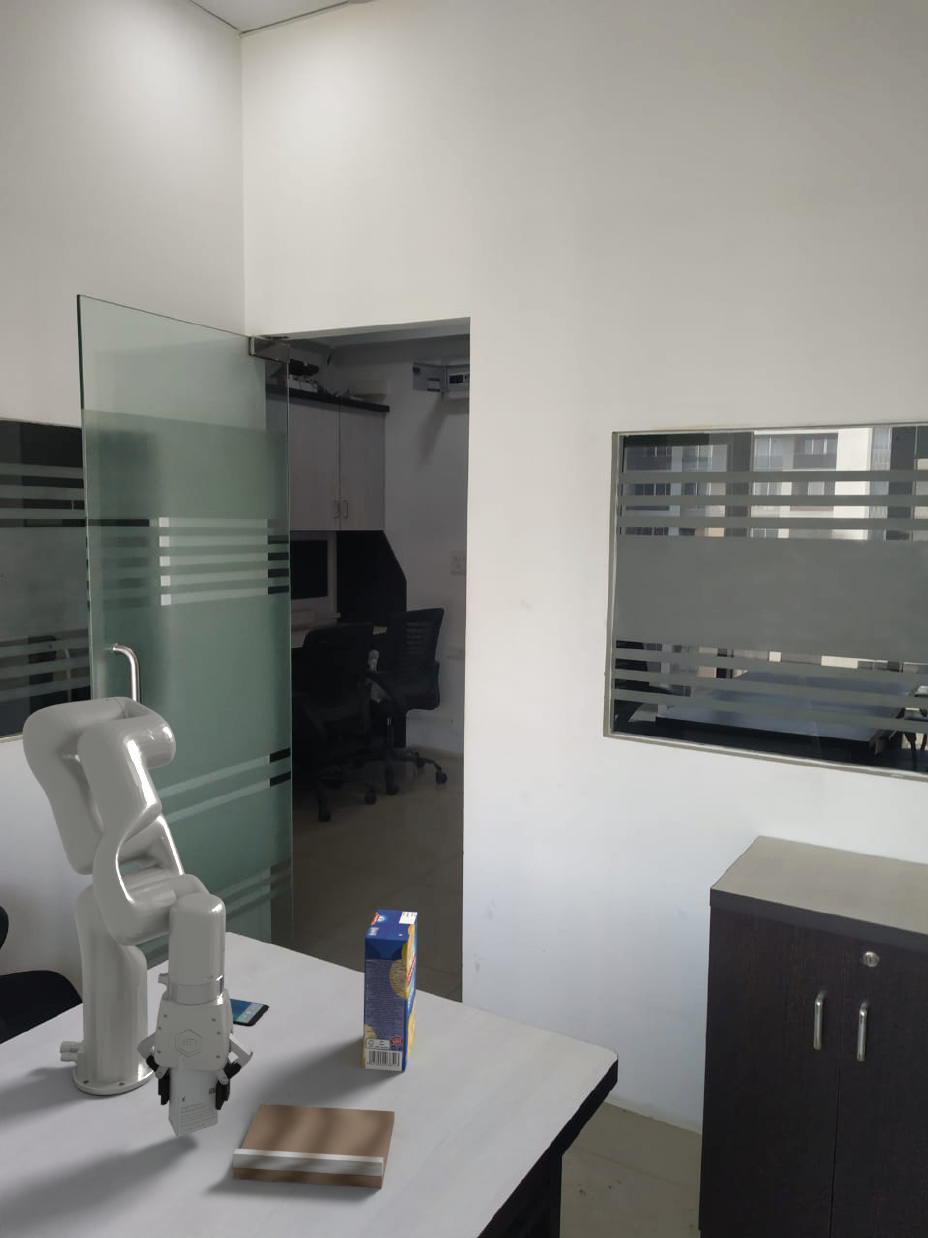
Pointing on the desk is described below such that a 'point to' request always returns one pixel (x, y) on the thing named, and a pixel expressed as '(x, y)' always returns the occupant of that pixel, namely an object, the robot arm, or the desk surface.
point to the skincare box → (191, 1099)
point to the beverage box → (389, 990)
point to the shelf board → (316, 1146)
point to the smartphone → (247, 1012)
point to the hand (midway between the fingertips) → (193, 1100)
